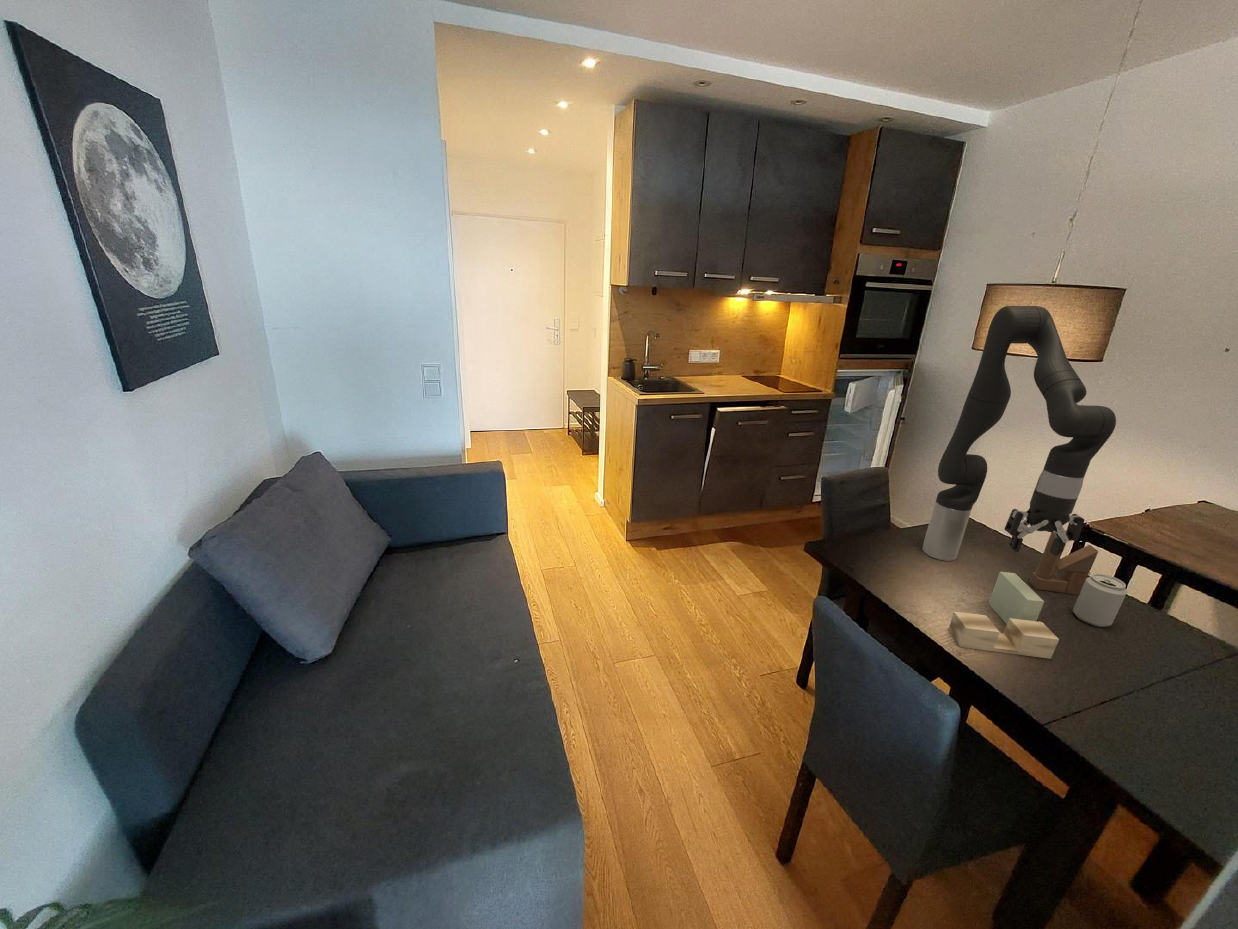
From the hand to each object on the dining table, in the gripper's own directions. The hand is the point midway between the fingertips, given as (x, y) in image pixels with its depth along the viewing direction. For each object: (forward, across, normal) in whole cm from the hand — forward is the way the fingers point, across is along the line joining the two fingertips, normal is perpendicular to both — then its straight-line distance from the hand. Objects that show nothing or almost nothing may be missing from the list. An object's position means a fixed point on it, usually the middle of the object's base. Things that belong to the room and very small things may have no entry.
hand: (1033, 552), depth 115 cm
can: (+20, -21, -4) cm, 29 cm away
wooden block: (+20, -20, -17) cm, 33 cm away
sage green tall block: (+20, 0, 0) cm, 20 cm away
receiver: (+20, +8, +11) cm, 24 cm away
